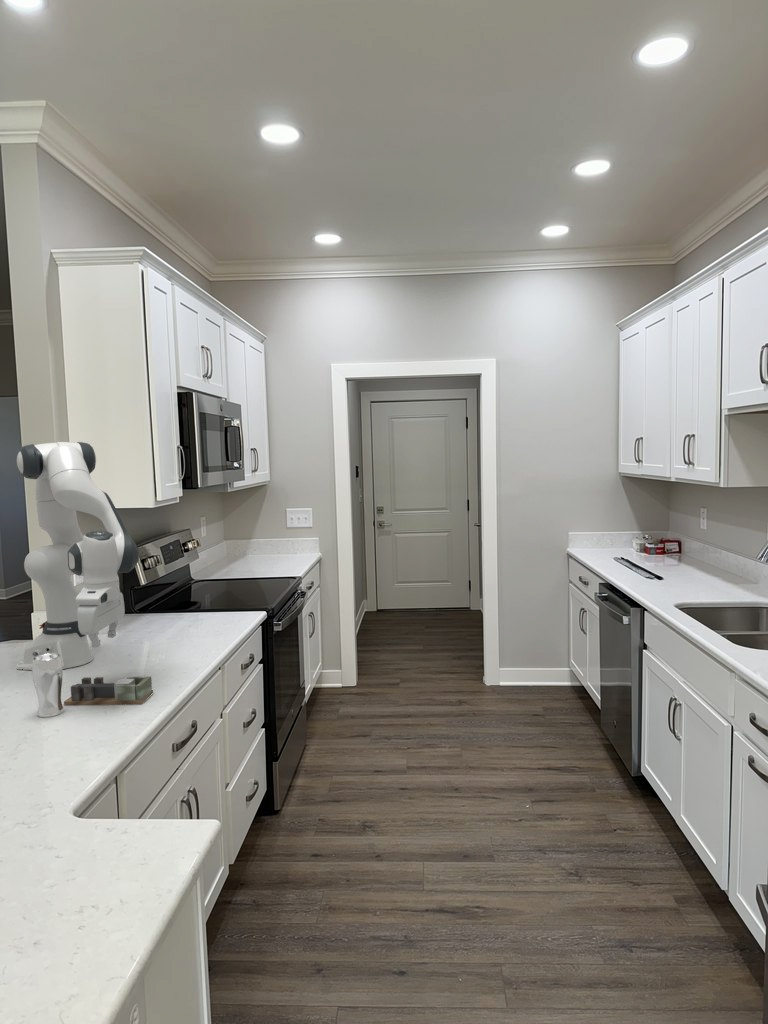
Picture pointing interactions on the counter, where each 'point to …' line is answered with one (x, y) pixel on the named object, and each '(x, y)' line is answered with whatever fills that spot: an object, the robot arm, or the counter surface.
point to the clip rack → (124, 693)
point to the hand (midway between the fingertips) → (104, 642)
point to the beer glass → (48, 683)
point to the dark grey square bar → (107, 688)
